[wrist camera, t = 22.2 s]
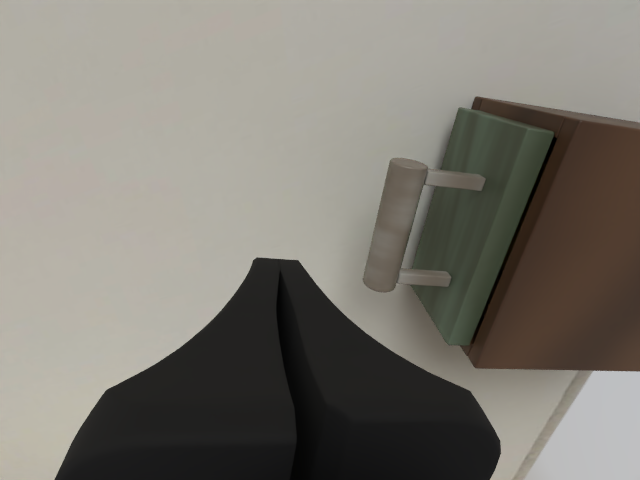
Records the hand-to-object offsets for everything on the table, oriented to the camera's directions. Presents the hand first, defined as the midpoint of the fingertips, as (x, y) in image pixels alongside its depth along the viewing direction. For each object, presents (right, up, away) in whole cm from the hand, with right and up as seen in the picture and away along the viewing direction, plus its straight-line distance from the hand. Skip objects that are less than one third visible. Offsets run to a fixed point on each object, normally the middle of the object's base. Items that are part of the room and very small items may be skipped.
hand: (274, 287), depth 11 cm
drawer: (+12, +3, +11) cm, 16 cm away
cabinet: (+15, +3, +12) cm, 20 cm away
